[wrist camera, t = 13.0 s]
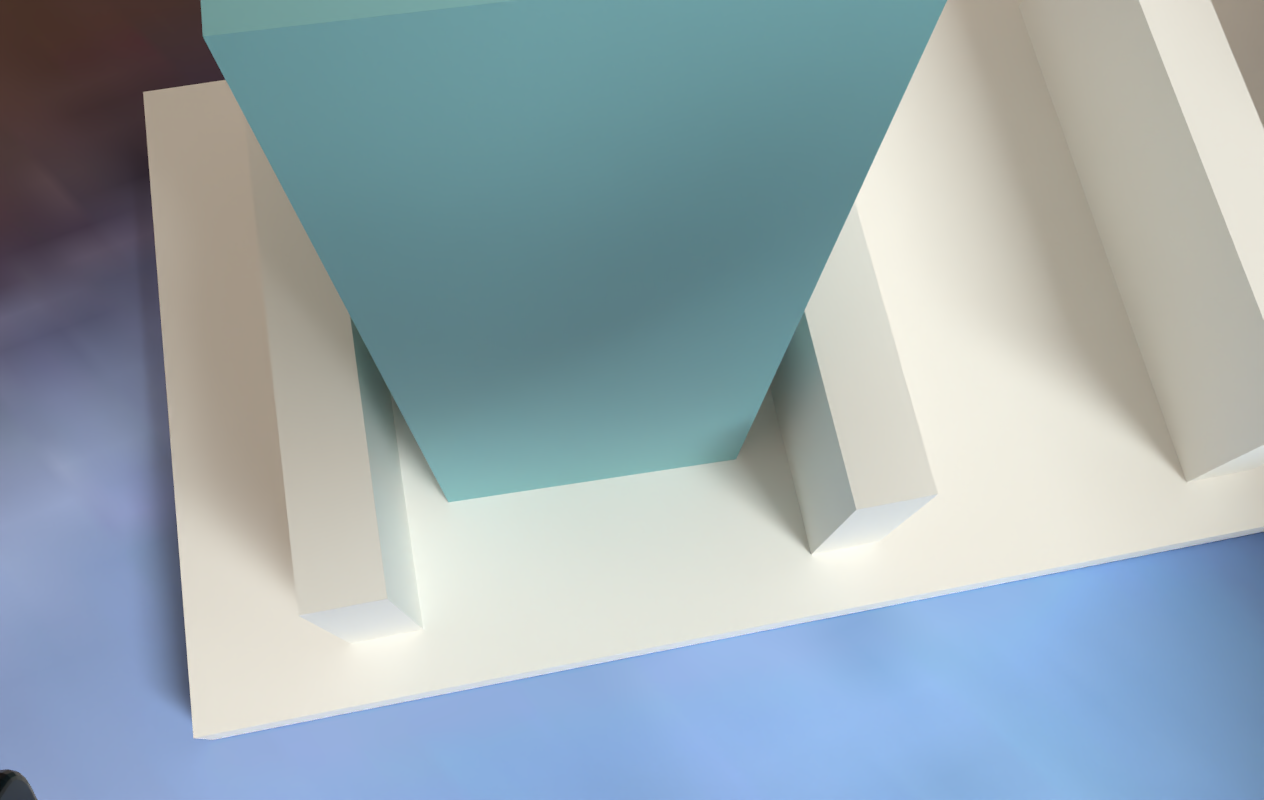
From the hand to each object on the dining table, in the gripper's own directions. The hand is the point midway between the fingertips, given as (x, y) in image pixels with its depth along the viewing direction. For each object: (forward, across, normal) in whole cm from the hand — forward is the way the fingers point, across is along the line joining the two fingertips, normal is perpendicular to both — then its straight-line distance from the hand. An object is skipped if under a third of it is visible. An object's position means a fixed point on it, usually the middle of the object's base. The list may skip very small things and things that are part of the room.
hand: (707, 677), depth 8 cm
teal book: (+13, 0, +3) cm, 13 cm away
